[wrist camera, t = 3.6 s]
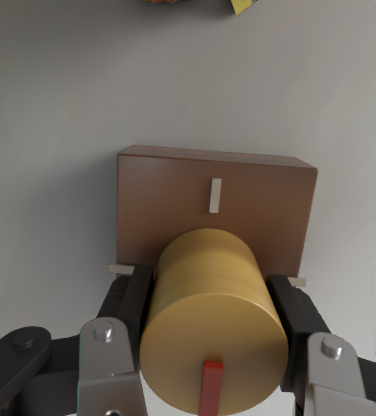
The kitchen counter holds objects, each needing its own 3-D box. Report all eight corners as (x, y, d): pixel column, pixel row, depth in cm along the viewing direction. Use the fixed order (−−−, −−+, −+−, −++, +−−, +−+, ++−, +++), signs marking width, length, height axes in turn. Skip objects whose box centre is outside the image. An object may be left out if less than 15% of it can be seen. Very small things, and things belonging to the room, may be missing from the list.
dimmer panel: (124, 144, 16) (108, 153, 13) (303, 157, 16) (328, 169, 13) (122, 321, 19) (107, 362, 16) (272, 332, 19) (287, 375, 16)
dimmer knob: (158, 224, 14) (138, 293, 9) (264, 231, 14) (305, 305, 9) (154, 314, 15) (134, 420, 10) (250, 321, 15) (279, 431, 10)
